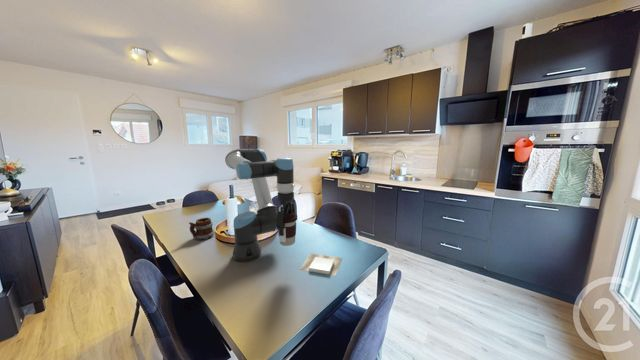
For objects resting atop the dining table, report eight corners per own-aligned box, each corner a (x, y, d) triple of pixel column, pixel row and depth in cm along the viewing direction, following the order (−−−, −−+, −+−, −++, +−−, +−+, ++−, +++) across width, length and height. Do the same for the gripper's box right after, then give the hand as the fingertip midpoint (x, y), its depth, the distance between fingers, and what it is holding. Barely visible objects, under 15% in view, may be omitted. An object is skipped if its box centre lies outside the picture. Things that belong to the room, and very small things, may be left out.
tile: (315, 260, 112) (308, 271, 103) (315, 256, 112) (308, 267, 103) (334, 263, 110) (329, 275, 100) (334, 259, 109) (329, 271, 100)
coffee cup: (294, 248, 100) (293, 217, 97) (273, 246, 102) (272, 216, 99) (300, 239, 109) (299, 210, 106) (281, 237, 111) (280, 209, 108)
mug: (219, 234, 148) (214, 214, 143) (200, 246, 136) (193, 225, 132) (209, 230, 154) (203, 211, 149) (189, 242, 142) (182, 222, 137)
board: (299, 271, 105) (299, 269, 105) (310, 255, 120) (310, 253, 120) (335, 278, 100) (335, 275, 99) (342, 260, 115) (342, 258, 114)
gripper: (282, 198, 89) (284, 248, 94) (301, 187, 110) (302, 229, 114) (266, 196, 92) (268, 246, 96) (288, 186, 112) (289, 227, 116)
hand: (287, 236), depth 105 cm, fingers closed on coffee cup, 9 cm apart
